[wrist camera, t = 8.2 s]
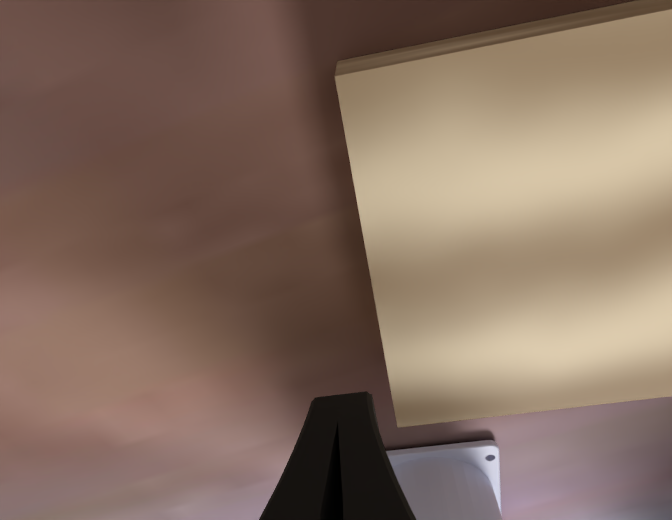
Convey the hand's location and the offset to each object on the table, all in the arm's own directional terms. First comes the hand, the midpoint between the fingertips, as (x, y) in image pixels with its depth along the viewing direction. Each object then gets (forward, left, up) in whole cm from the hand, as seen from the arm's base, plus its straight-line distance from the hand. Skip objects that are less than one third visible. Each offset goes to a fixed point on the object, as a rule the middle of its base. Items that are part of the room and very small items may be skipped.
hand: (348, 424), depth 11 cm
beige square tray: (0, -8, -10) cm, 13 cm away
